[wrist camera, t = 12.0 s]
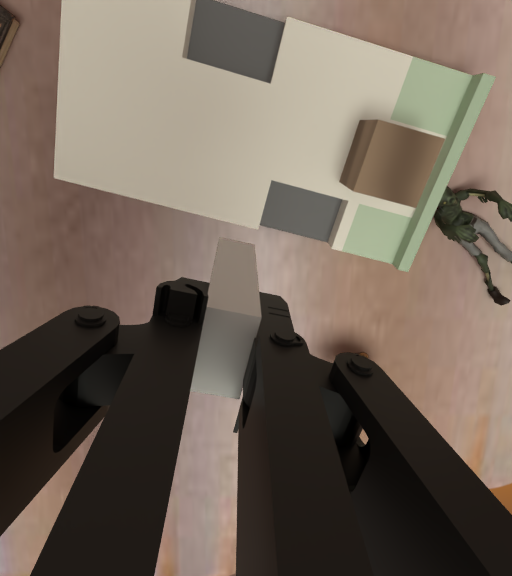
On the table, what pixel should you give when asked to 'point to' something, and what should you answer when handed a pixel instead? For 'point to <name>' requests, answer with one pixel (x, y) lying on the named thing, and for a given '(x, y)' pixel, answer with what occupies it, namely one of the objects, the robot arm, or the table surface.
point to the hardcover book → (6, 31)
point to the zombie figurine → (473, 229)
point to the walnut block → (390, 161)
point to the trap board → (249, 118)
